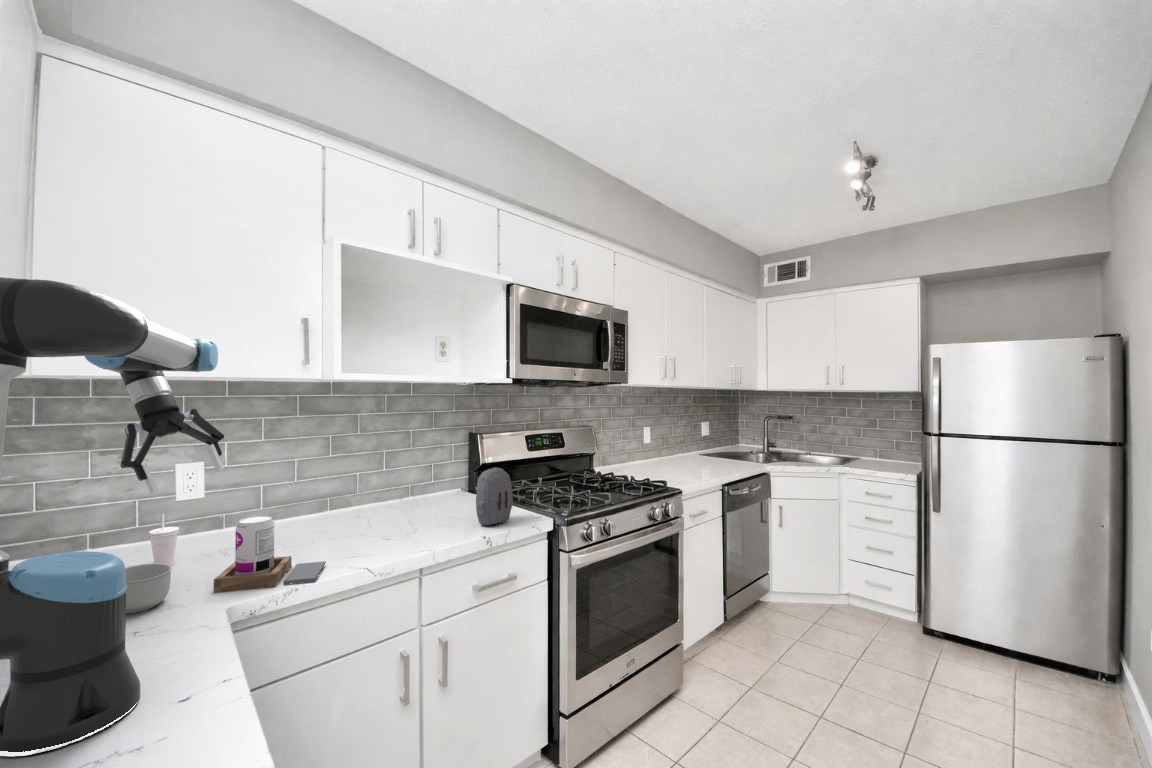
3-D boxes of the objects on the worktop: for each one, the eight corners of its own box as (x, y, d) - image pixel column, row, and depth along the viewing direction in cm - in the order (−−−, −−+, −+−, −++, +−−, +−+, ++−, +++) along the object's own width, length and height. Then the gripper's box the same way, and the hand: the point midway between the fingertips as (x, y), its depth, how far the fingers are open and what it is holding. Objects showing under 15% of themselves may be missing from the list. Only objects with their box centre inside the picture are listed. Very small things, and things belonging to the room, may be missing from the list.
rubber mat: (315, 581, 121) (315, 577, 121) (283, 584, 119) (283, 580, 119) (325, 564, 133) (325, 561, 133) (297, 567, 131) (297, 563, 131)
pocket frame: (275, 586, 118) (275, 574, 118) (213, 592, 115) (213, 579, 115) (291, 567, 131) (291, 556, 131) (235, 572, 127) (235, 560, 127)
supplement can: (234, 588, 117) (234, 525, 117) (236, 577, 124) (236, 518, 124) (274, 581, 122) (274, 521, 122) (273, 570, 129) (274, 513, 129)
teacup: (165, 592, 115) (165, 558, 115) (176, 605, 108) (177, 569, 108) (81, 614, 104) (81, 576, 104) (88, 630, 97) (88, 589, 97)
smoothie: (142, 570, 128) (142, 517, 128) (158, 562, 135) (159, 511, 135) (169, 569, 129) (169, 516, 129) (184, 560, 136) (185, 510, 136)
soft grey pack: (503, 517, 181) (503, 463, 182) (519, 521, 176) (519, 466, 176) (471, 526, 170) (471, 469, 170) (487, 531, 164) (487, 471, 165)
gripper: (206, 391, 129) (238, 464, 130) (79, 417, 108) (118, 505, 109) (217, 382, 125) (250, 458, 126) (87, 408, 104) (127, 499, 105)
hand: (189, 480), depth 117 cm, fingers open, 13 cm apart
